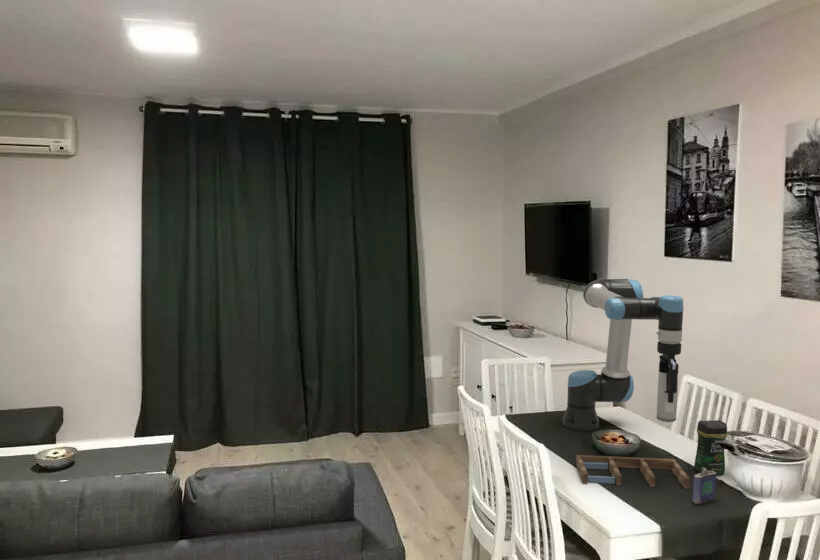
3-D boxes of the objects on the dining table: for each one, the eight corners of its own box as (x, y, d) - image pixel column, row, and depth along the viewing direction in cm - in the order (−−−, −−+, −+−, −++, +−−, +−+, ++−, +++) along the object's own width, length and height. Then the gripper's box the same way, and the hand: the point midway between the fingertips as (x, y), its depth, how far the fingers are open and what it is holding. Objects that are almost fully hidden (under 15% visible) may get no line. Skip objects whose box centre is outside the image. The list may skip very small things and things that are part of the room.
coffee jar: (703, 476, 231) (705, 424, 230) (690, 468, 239) (693, 417, 237) (729, 475, 233) (732, 423, 231) (716, 467, 240) (718, 416, 239)
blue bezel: (581, 467, 239) (581, 461, 239) (607, 468, 238) (607, 463, 238) (587, 482, 226) (587, 476, 226) (614, 483, 225) (615, 478, 225)
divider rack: (575, 464, 242) (576, 454, 242) (674, 468, 239) (674, 459, 238) (582, 483, 225) (583, 473, 225) (689, 488, 221) (689, 478, 221)
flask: (697, 505, 209) (698, 472, 208) (689, 501, 212) (690, 469, 210) (717, 499, 213) (719, 467, 212) (709, 496, 216) (711, 464, 215)
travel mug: (651, 417, 229) (654, 360, 227) (666, 415, 232) (669, 359, 230) (665, 423, 224) (668, 364, 221) (680, 421, 226) (683, 363, 224)
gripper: (650, 336, 235) (648, 399, 237) (665, 347, 216) (662, 416, 218) (672, 336, 234) (669, 400, 237) (689, 347, 215) (686, 417, 218)
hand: (666, 408), depth 227 cm, fingers closed on travel mug, 6 cm apart
